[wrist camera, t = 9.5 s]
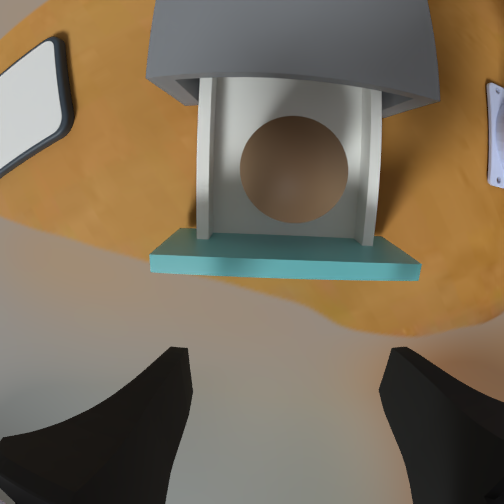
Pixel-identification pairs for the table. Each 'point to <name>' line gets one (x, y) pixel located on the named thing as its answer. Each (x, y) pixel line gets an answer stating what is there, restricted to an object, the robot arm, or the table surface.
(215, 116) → the tray
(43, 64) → the smartphone
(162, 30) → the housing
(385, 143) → the table surface
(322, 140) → the brown cork
